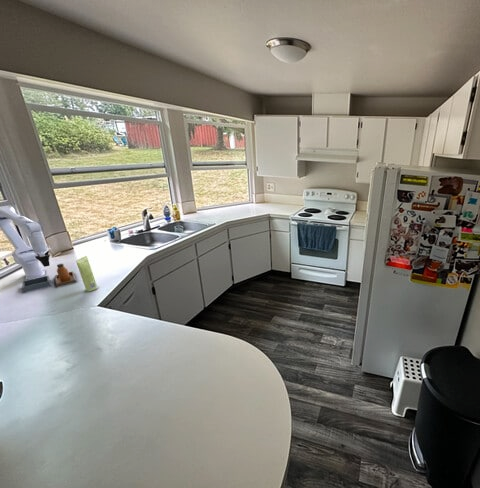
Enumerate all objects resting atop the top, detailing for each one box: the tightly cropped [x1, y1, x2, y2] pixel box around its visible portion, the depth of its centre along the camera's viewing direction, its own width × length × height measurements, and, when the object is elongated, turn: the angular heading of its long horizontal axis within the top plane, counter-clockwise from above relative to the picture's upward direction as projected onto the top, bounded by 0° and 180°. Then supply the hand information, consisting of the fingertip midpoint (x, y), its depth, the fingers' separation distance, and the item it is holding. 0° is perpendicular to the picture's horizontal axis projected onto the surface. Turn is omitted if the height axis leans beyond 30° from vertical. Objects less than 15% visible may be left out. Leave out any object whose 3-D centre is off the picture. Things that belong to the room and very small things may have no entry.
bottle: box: [56, 263, 71, 281], centre depth 150 cm, size 4×4×10 cm
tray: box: [54, 271, 77, 287], centre depth 151 cm, size 15×8×2 cm, turn 47°
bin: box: [21, 275, 52, 293], centre depth 144 cm, size 10×10×3 cm
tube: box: [75, 255, 98, 292], centre depth 140 cm, size 6×5×20 cm
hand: (46, 264), depth 148 cm, fingers open, 7 cm apart
